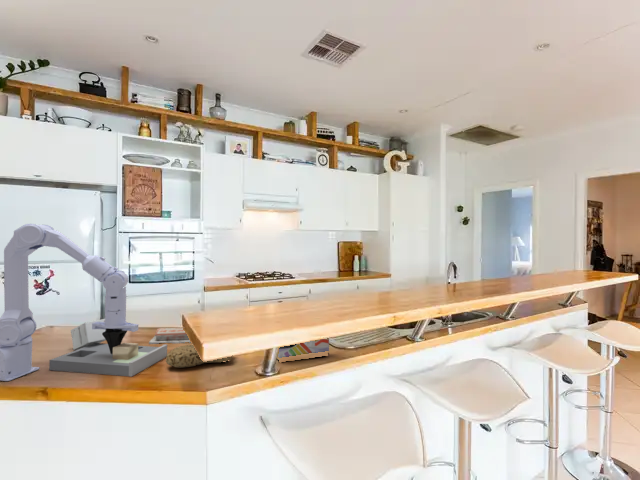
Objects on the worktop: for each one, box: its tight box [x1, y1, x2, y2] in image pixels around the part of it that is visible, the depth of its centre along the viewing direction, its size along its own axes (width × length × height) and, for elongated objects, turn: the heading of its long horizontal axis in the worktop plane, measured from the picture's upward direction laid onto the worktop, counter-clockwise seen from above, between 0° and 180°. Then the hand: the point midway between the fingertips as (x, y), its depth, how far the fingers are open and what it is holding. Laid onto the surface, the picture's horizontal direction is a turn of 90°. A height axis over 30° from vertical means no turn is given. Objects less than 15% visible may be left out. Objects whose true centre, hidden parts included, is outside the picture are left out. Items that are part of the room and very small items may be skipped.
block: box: [113, 342, 139, 360], centre depth 108 cm, size 5×5×4 cm
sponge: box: [165, 344, 233, 369], centre depth 112 cm, size 13×8×20 cm
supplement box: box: [70, 318, 106, 351], centre depth 123 cm, size 7×7×13 cm
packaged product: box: [148, 327, 192, 345], centre depth 138 cm, size 18×5×10 cm
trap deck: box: [48, 342, 168, 377], centre depth 111 cm, size 18×27×4 cm, turn 83°
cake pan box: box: [278, 337, 330, 358], centre depth 119 cm, size 19×5×18 cm, turn 112°
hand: (114, 352), depth 109 cm, fingers closed
